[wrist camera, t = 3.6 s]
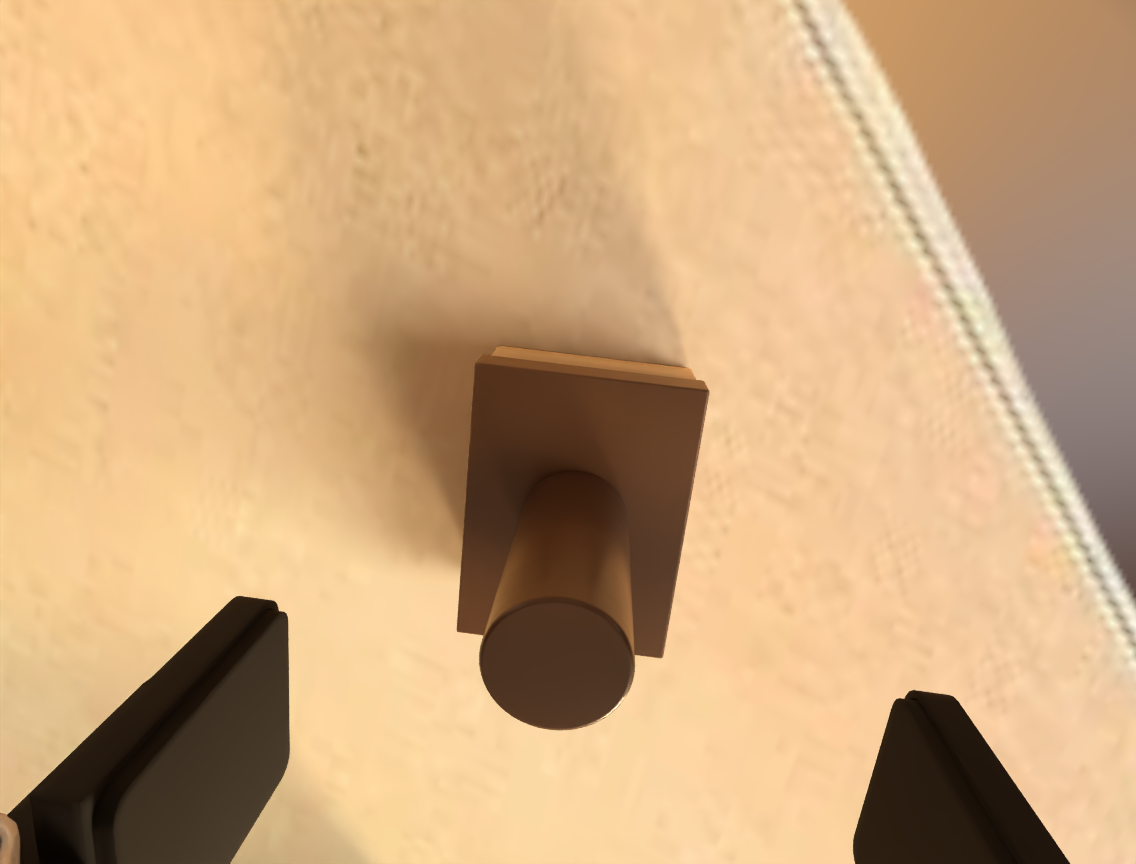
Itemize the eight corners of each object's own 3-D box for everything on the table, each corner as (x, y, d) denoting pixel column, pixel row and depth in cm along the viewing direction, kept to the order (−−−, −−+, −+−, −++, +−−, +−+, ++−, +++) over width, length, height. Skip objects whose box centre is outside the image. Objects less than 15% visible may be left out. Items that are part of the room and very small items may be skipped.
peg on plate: (494, 340, 19) (402, 442, 11) (696, 364, 19) (761, 486, 10) (476, 578, 21) (388, 815, 13) (656, 601, 21) (684, 855, 13)
